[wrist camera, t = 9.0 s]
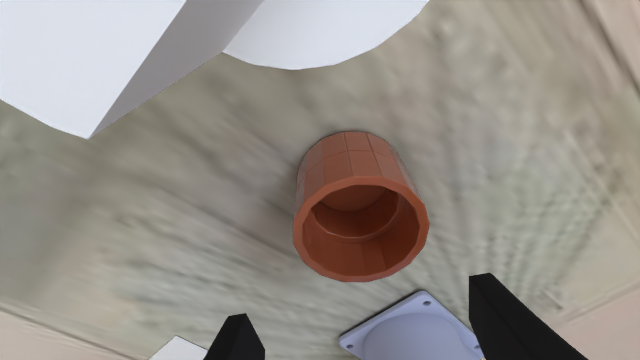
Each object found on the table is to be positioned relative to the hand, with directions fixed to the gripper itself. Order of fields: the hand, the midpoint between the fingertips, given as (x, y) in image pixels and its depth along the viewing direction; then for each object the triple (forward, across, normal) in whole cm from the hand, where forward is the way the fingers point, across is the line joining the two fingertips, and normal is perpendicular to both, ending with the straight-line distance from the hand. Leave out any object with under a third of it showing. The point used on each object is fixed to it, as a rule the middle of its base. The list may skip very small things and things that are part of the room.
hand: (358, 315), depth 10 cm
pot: (+8, 0, 0) cm, 9 cm away
